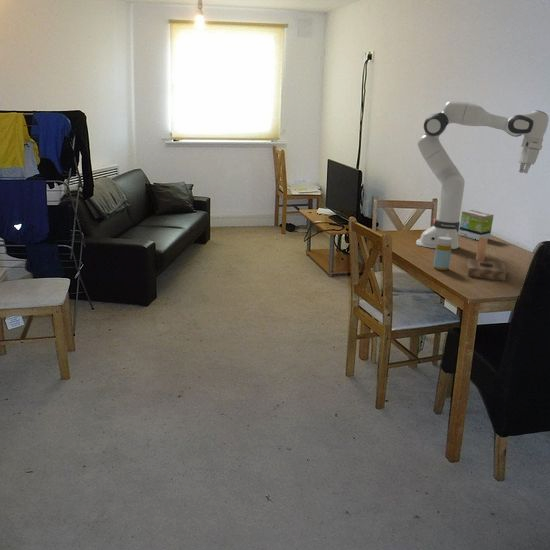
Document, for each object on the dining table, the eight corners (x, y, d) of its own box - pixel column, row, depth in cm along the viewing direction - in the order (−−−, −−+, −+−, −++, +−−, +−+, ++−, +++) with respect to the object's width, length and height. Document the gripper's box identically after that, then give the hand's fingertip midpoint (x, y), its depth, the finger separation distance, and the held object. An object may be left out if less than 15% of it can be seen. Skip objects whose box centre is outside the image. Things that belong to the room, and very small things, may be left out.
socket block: (467, 276, 256) (468, 267, 255) (466, 266, 271) (468, 258, 269) (504, 280, 252) (506, 272, 251) (502, 270, 266) (503, 262, 265)
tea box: (457, 235, 331) (461, 210, 327) (468, 233, 337) (471, 209, 333) (479, 241, 320) (484, 215, 315) (490, 239, 326) (494, 214, 321)
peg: (475, 264, 275) (479, 238, 271) (474, 262, 279) (479, 236, 275) (483, 265, 274) (488, 239, 270) (483, 263, 278) (487, 237, 274)
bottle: (446, 271, 261) (450, 240, 256) (431, 268, 265) (435, 238, 260) (450, 268, 267) (454, 237, 262) (435, 265, 270) (439, 235, 266)
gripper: (520, 144, 286) (512, 170, 290) (529, 143, 267) (520, 172, 270) (532, 146, 286) (524, 173, 289) (543, 146, 266) (534, 175, 269)
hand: (522, 172), depth 279 cm, fingers open, 8 cm apart
